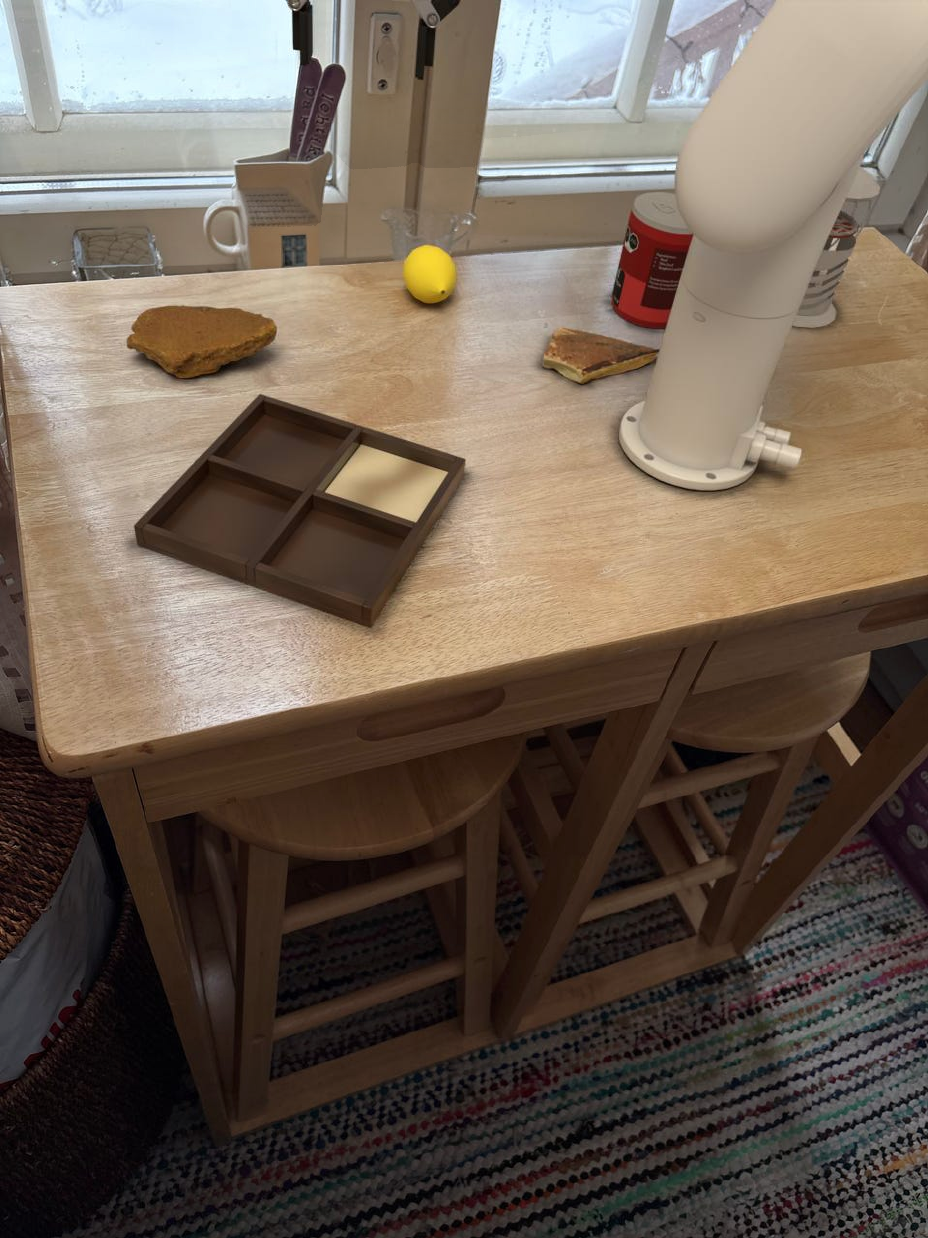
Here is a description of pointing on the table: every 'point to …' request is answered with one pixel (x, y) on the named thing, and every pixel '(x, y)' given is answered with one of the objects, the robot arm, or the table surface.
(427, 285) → the lemon
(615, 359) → the pie slice
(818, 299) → the french press
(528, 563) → the table surface
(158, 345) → the artifact
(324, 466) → the brown compartment tray
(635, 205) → the canned food
